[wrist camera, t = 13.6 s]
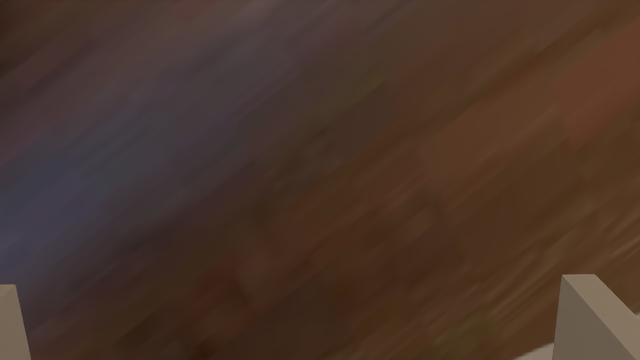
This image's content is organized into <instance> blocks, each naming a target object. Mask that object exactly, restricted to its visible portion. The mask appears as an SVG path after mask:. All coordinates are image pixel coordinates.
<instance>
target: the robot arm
mask: <svg viewBox="0 0 640 360" xmlns="http://www.w3.org/2000/svg"><path fill="white" fill-rule="evenodd" d="M0 360H31V357H30V352H29V348H28V343H27V338H26V333H25V328H24V324H23V319H22V314H21V309H20V305H19V300H18V295H17V290H16V286H15V285H0ZM552 360H640V320H639V319H638V318H637V317H636V316H635V315H634V314H633V313H632V312H631V311H630V309H629V308H628V307H627V306H626V305H625V304H624V303H623V302H622V301H621V300H620V299H619V298H618V297H617V296H616V295H615V294H614V293H613V292H612V291H611V290H610V289H609V288H608V287H607V286H606V285H605V284H604V283H603V282H602V281H601V280H600V279H599V278H598V277H597V276H596V275H595V274H580V275H562V280H561V288H560V297H559V306H558V314H557V323H556V332H555V340H554V349H553V358H552Z"/></svg>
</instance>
